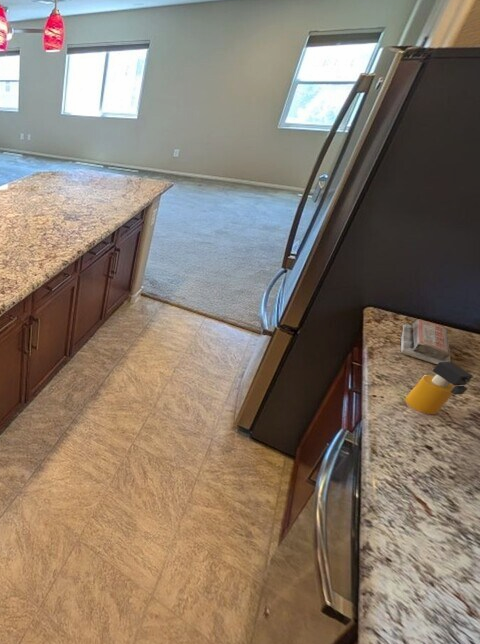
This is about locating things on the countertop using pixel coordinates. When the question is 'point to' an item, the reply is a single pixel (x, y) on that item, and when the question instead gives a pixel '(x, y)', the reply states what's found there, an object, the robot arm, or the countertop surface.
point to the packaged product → (425, 341)
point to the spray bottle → (437, 387)
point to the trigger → (458, 390)
